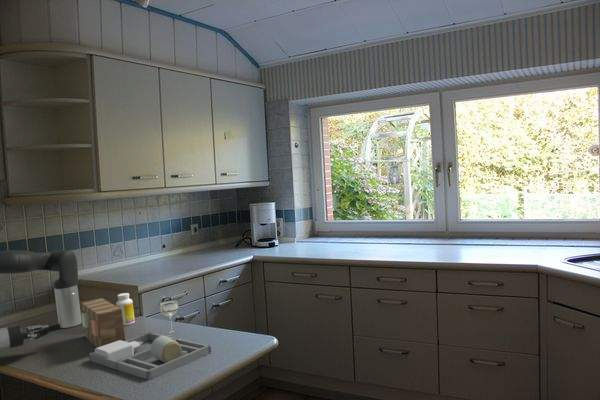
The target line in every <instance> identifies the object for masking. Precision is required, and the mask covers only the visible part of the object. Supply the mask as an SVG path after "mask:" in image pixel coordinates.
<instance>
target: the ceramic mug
mask: <svg viewBox="0 0 600 400" xmlns="http://www.w3.org/2000/svg"><path fill="white" fill-rule="evenodd" d="M167 336H168V335H164V336H159V337H157V338H156V339H155V340H154V341H152V343H151V345H150V349H151V354H152V357H153V358H155V360H158V361H161V362H163V363H167V362H169V361H171V360H174V359H176V358H179V357H181V356H183V355H186V354H187V353H188V351H186V350H184V349H181V346H180V344H179V343H178V342H176V341H175V340H173V339H171V338H169V337H170V336H169V337H167Z"/></svg>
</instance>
